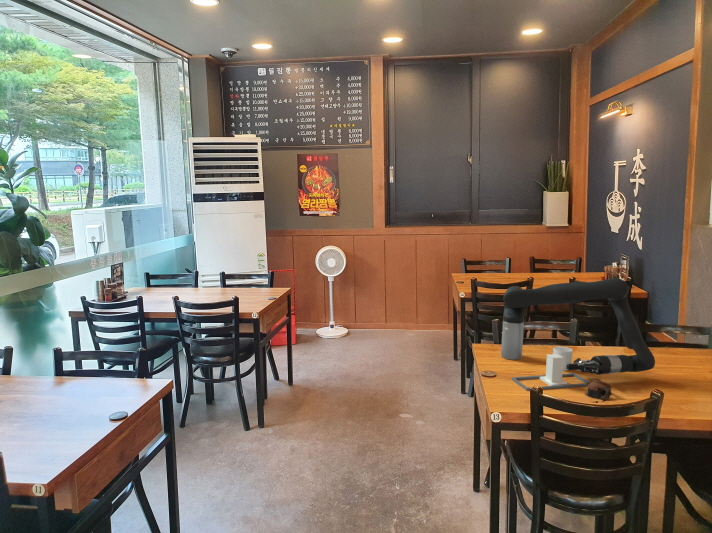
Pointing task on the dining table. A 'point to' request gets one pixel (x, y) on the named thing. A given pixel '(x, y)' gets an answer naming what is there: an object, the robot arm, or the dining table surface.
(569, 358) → the white cup
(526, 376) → the grey rectangular frame
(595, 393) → the dark brown lump
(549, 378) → the slider post
